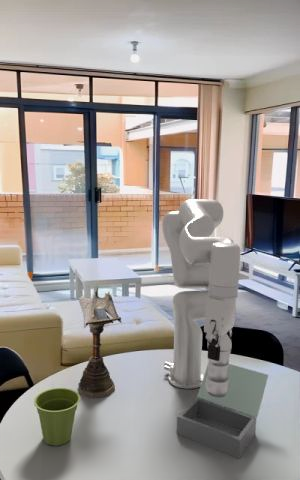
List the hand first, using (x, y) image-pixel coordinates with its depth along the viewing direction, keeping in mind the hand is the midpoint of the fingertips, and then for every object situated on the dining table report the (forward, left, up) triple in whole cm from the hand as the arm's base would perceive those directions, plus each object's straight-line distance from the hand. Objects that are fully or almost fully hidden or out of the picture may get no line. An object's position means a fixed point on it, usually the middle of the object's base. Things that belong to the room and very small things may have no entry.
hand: (219, 353), depth 112 cm
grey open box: (0, 0, -23) cm, 23 cm away
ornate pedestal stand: (-40, -1, -23) cm, 46 cm away
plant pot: (-34, -26, -23) cm, 49 cm away
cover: (0, +9, -13) cm, 16 cm away
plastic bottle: (0, 0, -12) cm, 12 cm away
